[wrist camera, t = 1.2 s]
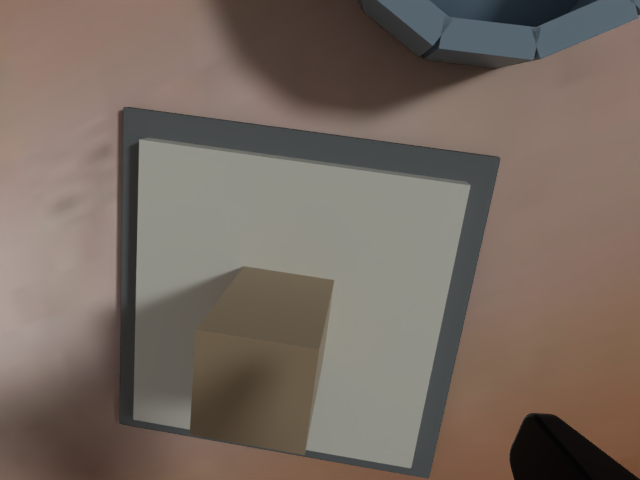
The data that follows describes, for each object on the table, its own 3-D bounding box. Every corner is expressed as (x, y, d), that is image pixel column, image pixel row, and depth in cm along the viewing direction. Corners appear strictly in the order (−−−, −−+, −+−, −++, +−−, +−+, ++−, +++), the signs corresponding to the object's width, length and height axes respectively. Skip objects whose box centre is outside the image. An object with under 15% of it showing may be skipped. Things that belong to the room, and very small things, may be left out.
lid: (409, 455, 22) (423, 591, 16) (141, 408, 23) (57, 521, 17) (466, 181, 19) (510, 223, 13) (148, 137, 19) (46, 157, 13)
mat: (427, 472, 23) (428, 478, 22) (123, 418, 24) (119, 424, 23) (497, 156, 19) (500, 158, 18) (128, 106, 20) (123, 107, 19)
